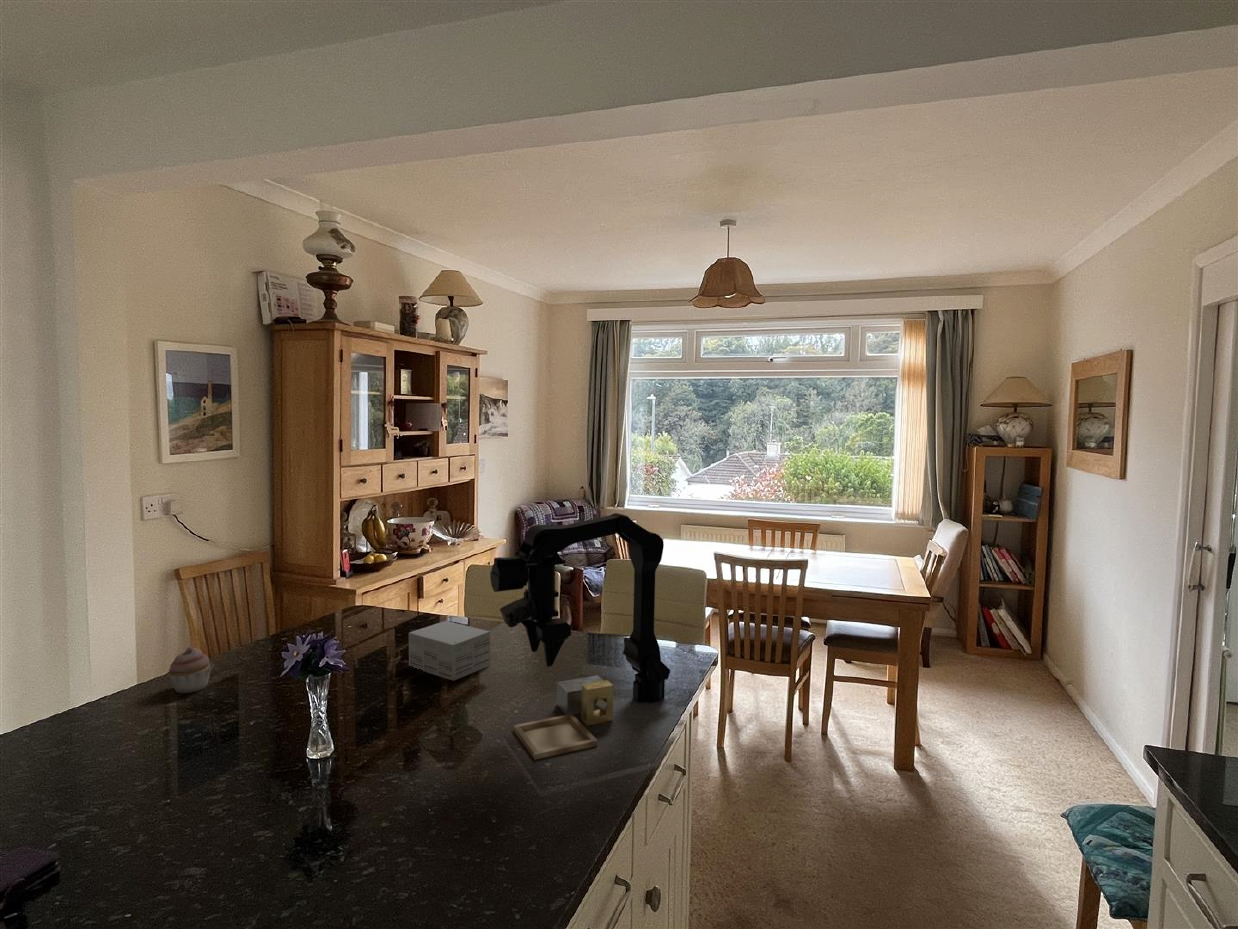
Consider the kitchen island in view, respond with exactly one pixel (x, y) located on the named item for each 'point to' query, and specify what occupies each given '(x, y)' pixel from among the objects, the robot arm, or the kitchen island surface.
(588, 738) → the tray
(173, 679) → the cupcake
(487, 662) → the supplement box
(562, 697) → the vise block
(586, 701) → the wooden block
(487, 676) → the kitchen island surface
